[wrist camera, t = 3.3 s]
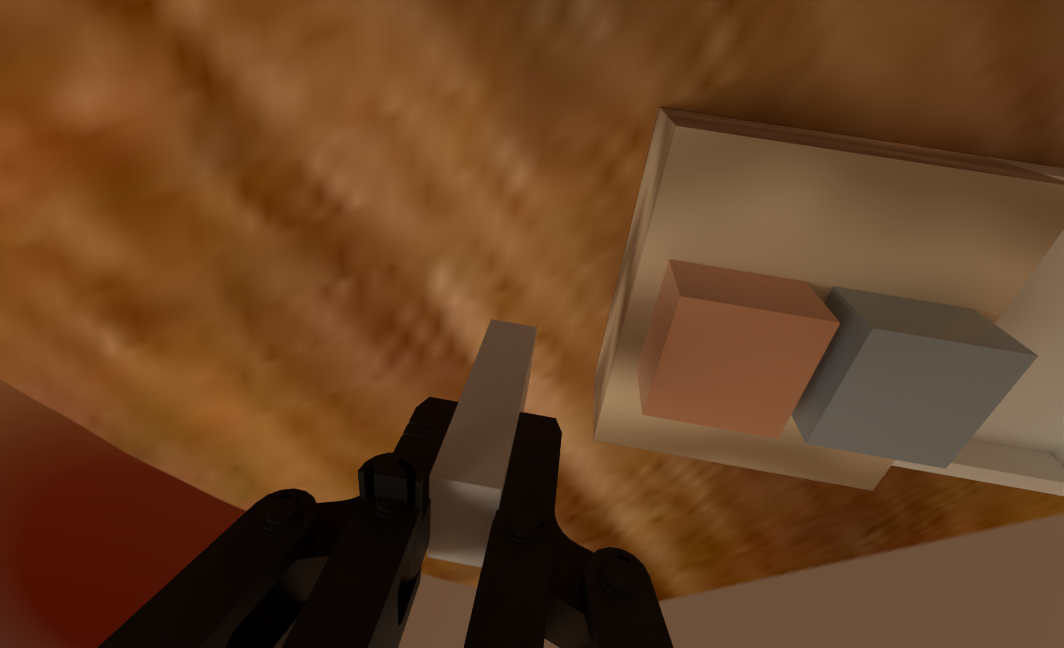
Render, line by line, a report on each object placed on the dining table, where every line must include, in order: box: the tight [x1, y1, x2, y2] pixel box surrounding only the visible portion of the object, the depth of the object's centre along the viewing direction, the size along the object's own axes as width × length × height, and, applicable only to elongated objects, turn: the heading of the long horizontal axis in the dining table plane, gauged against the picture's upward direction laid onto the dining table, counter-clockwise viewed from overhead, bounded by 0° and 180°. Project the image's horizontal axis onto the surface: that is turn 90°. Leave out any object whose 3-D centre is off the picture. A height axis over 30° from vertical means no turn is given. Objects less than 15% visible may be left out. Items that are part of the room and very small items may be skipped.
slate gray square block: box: [791, 286, 1038, 469], centre depth 17 cm, size 5×5×3 cm
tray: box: [892, 156, 1064, 496], centre depth 21 cm, size 14×12×3 cm
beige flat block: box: [593, 107, 1064, 491], centre depth 21 cm, size 14×13×5 cm
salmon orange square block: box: [637, 259, 840, 439], centre depth 18 cm, size 5×5×3 cm
